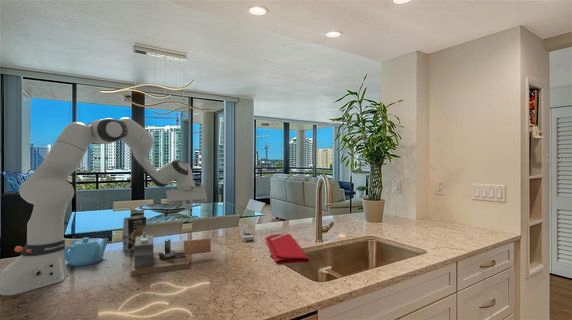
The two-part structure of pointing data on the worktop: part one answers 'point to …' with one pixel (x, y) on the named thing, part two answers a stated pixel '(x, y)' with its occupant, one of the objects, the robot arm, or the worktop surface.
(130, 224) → the coffee box
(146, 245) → the stand
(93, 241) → the teapot
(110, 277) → the worktop surface
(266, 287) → the worktop surface
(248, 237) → the mobile phone
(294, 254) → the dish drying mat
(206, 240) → the wooden lever
